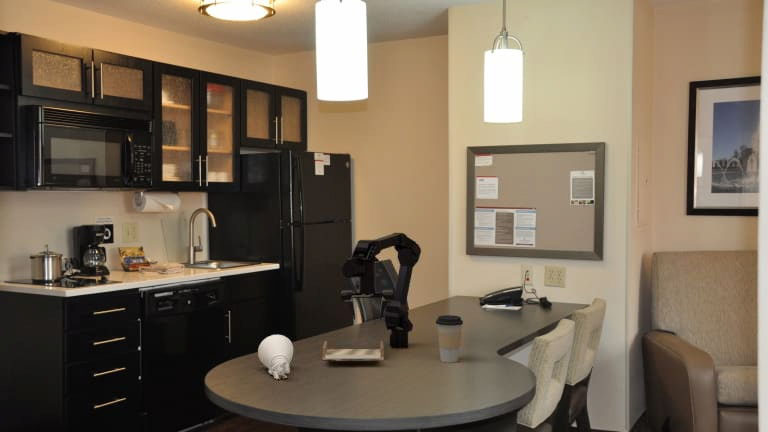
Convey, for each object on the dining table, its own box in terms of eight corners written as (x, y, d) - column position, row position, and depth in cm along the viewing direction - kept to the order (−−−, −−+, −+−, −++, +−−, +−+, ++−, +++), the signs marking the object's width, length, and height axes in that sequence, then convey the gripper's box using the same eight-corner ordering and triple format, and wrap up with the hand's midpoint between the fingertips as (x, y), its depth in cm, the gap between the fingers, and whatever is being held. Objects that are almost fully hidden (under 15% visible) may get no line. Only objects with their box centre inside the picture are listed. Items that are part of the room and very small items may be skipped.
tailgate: (379, 354, 247) (379, 354, 238) (379, 359, 247) (379, 360, 238) (326, 355, 247) (325, 354, 238) (326, 360, 246) (325, 360, 238)
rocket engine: (285, 351, 219) (278, 327, 236) (255, 375, 218) (250, 350, 235) (308, 375, 223) (300, 351, 240) (279, 400, 222) (273, 373, 239)
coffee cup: (465, 358, 251) (465, 315, 250) (459, 364, 242) (459, 320, 241) (439, 356, 254) (439, 314, 253) (432, 362, 245) (432, 318, 244)
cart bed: (382, 352, 260) (382, 340, 260) (383, 360, 248) (383, 348, 248) (324, 352, 260) (324, 341, 260) (322, 360, 248) (322, 348, 247)
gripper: (392, 272, 263) (392, 315, 264) (341, 273, 262) (341, 315, 263) (394, 276, 252) (394, 320, 253) (340, 276, 251) (340, 321, 252)
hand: (367, 319), depth 255 cm, fingers open, 9 cm apart
